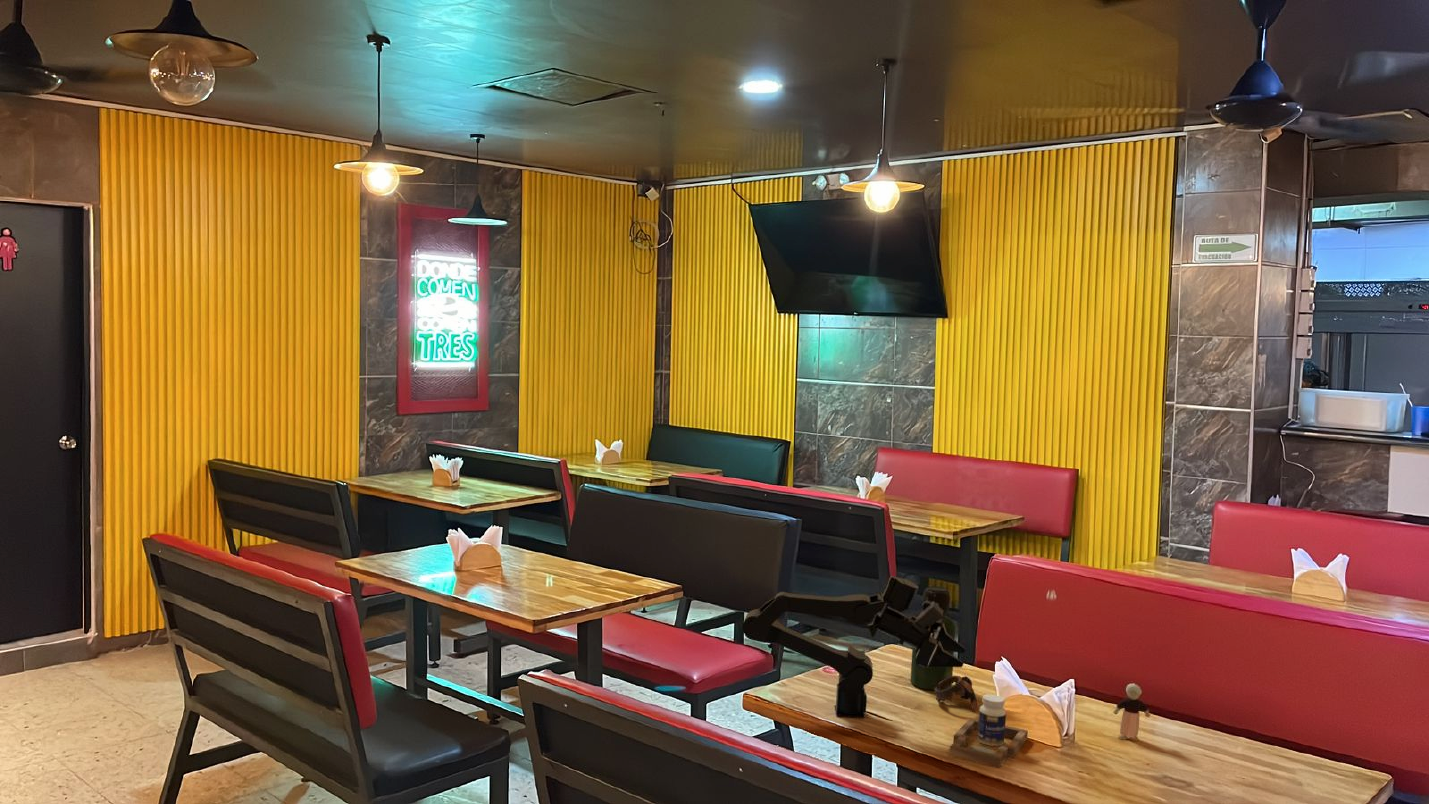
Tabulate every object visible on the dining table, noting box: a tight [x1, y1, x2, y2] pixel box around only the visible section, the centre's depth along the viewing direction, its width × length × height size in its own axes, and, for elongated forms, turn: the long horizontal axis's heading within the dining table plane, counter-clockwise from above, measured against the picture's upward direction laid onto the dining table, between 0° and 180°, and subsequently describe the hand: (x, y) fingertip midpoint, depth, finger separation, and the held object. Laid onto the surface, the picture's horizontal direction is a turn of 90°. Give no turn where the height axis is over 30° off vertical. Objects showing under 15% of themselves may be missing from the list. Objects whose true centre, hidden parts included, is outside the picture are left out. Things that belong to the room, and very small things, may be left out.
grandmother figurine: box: [1112, 683, 1151, 742], centre depth 240 cm, size 8×4×13 cm, turn 88°
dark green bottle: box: [910, 585, 956, 691], centre depth 271 cm, size 10×10×25 cm
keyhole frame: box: [949, 717, 1028, 769], centre depth 232 cm, size 20×13×2 cm, turn 151°
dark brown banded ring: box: [934, 675, 979, 713], centre depth 258 cm, size 12×9×8 cm
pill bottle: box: [977, 694, 1007, 747], centre depth 234 cm, size 6×6×10 cm
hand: (963, 658), depth 242 cm, fingers open, 9 cm apart
